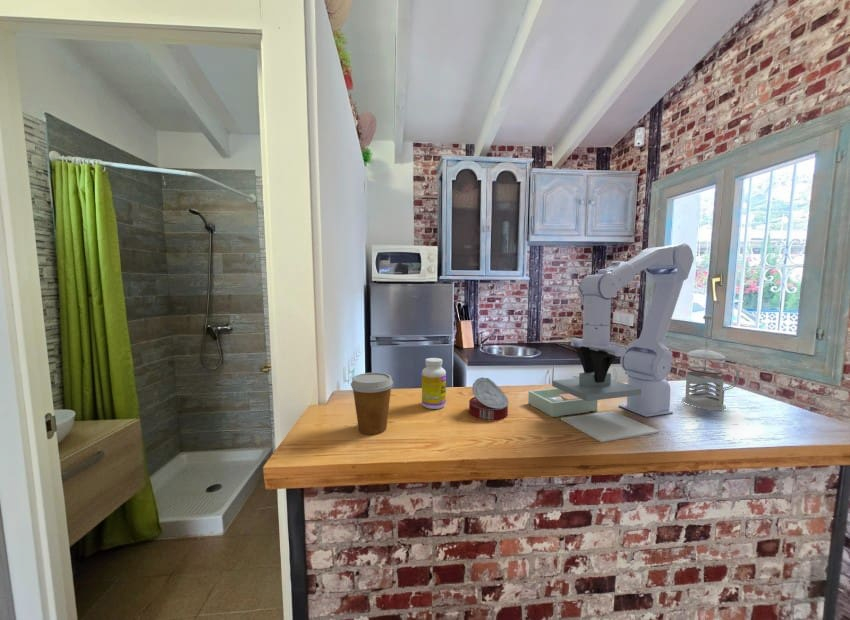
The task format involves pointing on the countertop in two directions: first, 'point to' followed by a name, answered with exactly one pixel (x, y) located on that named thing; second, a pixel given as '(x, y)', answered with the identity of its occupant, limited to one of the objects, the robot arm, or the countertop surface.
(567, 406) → the storage box
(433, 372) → the supplement bottle
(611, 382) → the lid
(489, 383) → the canned food
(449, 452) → the countertop surface
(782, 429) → the countertop surface
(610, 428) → the mat
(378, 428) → the disposable coffee cup
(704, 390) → the french press
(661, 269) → the robot arm
